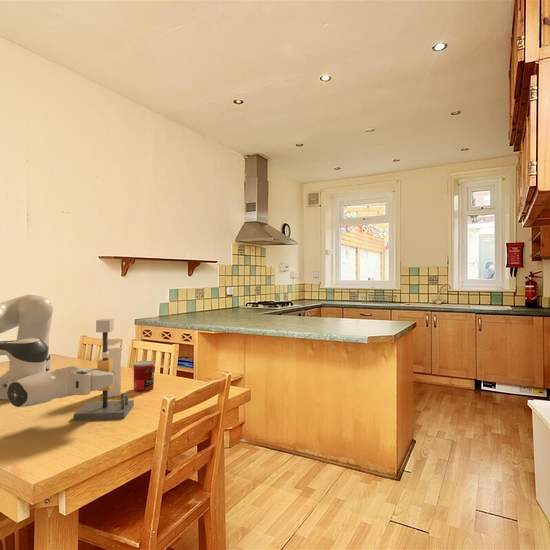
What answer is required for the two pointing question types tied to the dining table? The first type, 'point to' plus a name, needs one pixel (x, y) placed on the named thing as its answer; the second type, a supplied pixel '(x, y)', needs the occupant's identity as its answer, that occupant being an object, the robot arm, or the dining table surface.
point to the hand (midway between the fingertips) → (107, 371)
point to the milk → (115, 365)
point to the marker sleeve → (105, 369)
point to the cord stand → (105, 407)
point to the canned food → (143, 376)
